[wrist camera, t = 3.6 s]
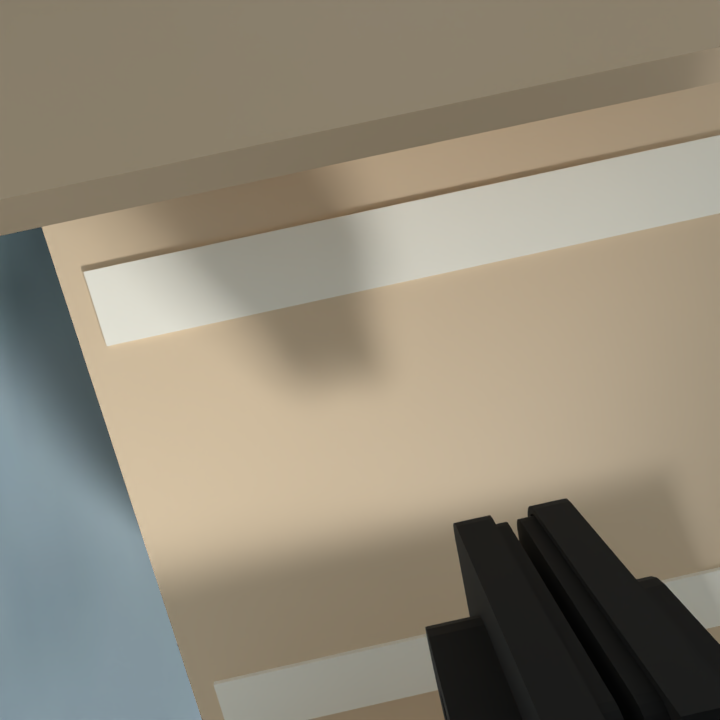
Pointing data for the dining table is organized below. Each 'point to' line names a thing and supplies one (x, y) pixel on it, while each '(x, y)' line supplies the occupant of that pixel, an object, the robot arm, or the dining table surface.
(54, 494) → the dining table surface
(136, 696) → the dining table surface
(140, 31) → the flap
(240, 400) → the carton
